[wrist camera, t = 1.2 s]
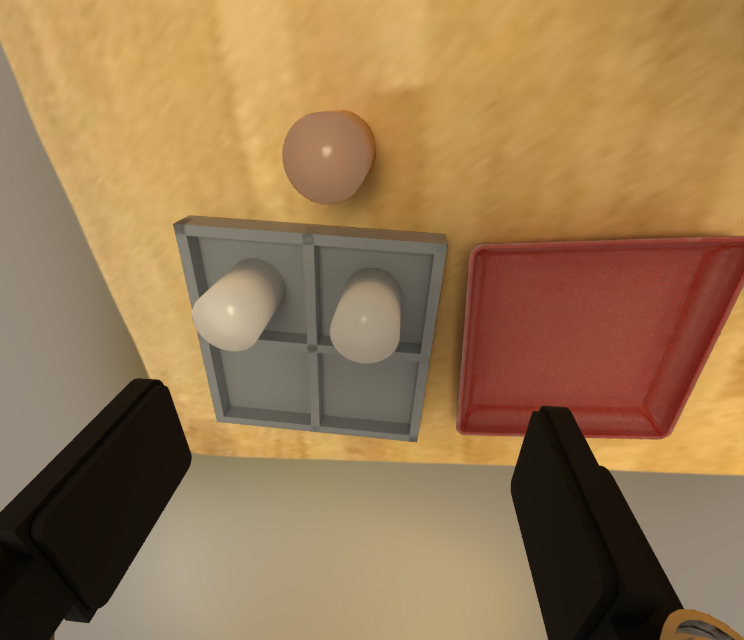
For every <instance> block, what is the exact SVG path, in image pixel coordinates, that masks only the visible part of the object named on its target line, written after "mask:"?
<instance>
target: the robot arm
mask: <svg viewBox="0 0 744 640" xmlns="http://www.w3.org/2000/svg"><path fill="white" fill-rule="evenodd" d="M191 459H192V457H191V452H190V449H189V446H188V443H187V440H186V438H185V435H184V432H183V429H182V426H181V423H180V420H179V417H178V414H177V411H176V409H175V406H174V403H173V400H172V397H171V394H170V391H169V389H168V387H167V386H164V384H163V383H162V382H161V381H160V380H155V379H140V378H137V379H134V380H133V381H131V382H130V383H129V384H128V385H127V386H126V387H125V388H124V389H123V390H122V391H121V392H120V393H119V394H118V395H117V396H116V397H115V398H114V399H113V400H112V401H111V402H110V403H109V404H108V405H107V406H106V407H105V408H104V409H103V410H102V411H101V412H100V413H99V414H98V415H97V416H96V417H95V418H94V419H93V420H92V421H91V422H90V423H89V424H88V425H87V426H86V427H85V428H84V429H83V430H82V431H81V432H80V433H79V434H78V435H77V436H76V437H75V438H74V439H73V440H72V441H71V442H70V443H69V444H68V445H67V446H66V447H65V448H64V449H63V450H62V451H61V452H60V453H59V454H58V455H57V456H56V457H55V458H54V459H53V460H52V461H51V462H50V463H49V464H48V465H47V466H46V467H45V468H44V469H43V470H42V471H41V472H40V473H39V474H38V475H37V476H36V477H35V478H34V479H33V480H32V481H31V482H30V483H29V484H28V485H27V486H26V487H25V488H24V489H23V490H22V491H21V492H20V493H19V494H18V495H17V496H16V497H15V498H14V499H13V500H12V501H11V502H10V503H9V504H8V505H7V506H6V507H5V508H4V509H3V510H2V511H1V512H0V640H54V635H55V634H54V633H55V631H56V629H57V628H58V626H59V625H60V623H61V622H62V620H63V619H65V620H66V621H75V622H83V623H90V621H91V619H92V617H93V616H94V614H95V613H96V611H97V610H98V608H101V607H103V606H104V605H105V604H106V603H107V602H108V601H109V599H110V598H111V596H112V595H113V593H114V591H115V590H116V588H117V586H118V585H119V583H120V581H121V580H122V578H123V576H124V575H125V573H126V571H127V570H128V568H129V566H130V565H131V563H132V561H133V560H134V558H135V557H136V555H137V553H138V551H139V550H140V548H141V547H142V545H143V543H144V542H145V540H146V538H147V536H148V535H149V533H150V532H151V530H152V528H153V527H154V525H155V523H156V522H157V520H158V518H159V517H160V515H161V513H162V512H163V510H164V508H165V507H166V505H167V504H168V502H169V500H170V499H171V497H172V495H173V494H174V492H175V490H176V489H177V487H178V485H179V484H180V482H181V480H182V479H183V477H184V476H185V474H186V472H187V470H188V469H189V467H190V464H191ZM511 495H512V499H513V503H514V507H515V511H516V515H517V519H518V523H519V527H520V531H521V534H522V538H523V542H524V546H525V550H526V554H527V558H528V562H529V566H530V570H531V574H532V578H533V582H534V585H535V589H536V593H537V597H538V601H539V605H540V608H541V613H542V617H543V620H544V624H545V629H546V633H547V636H548V640H744V638H743V637H742V636H740V635H739V634H738V633H737V632H735V631H734V630H733V629H732V628H730V627H729V626H728V625H727V624H725V623H723V622H721V621H719V620H718V619H716V618H714V617H712V616H710V615H709V614H706V613H702V612H699V611H696V610H693V609H692V610H691V609H690V610H689V609H688V610H687V609H684V608H683V606H682V604H681V602H680V600H679V599H678V597H677V595H676V593H675V591H674V589H673V587H672V585H671V584H670V582H669V580H668V578H667V576H666V574H665V572H664V570H663V569H662V567H661V565H660V563H659V561H658V559H657V558H656V556H655V554H654V552H653V550H652V548H651V546H650V545H649V543H648V541H647V539H646V537H645V535H644V533H643V531H642V530H641V528H640V526H639V524H638V522H637V520H636V518H635V517H634V515H633V513H632V511H631V509H630V507H629V506H628V504H627V502H626V500H625V498H624V496H623V494H622V492H621V491H620V489H619V487H618V485H617V483H616V481H615V480H614V478H613V476H612V475H611V473H610V472H609V470H608V469H606V468H605V467H603V466H599V465H598V463H597V461H596V459H595V457H594V455H593V453H592V451H591V449H590V447H589V445H588V443H587V441H586V439H585V437H584V435H583V434H582V432H581V430H580V428H579V426H578V424H577V422H576V420H575V418H574V416H573V414H572V412H571V411H570V409H569V408H567V407H557V406H541V407H540V409H539V411H533V412H532V414H531V417H530V421H529V424H528V427H527V431H526V434H525V437H524V441H523V444H522V447H521V450H520V454H519V457H518V460H517V464H516V467H515V470H514V474H513V477H512V480H511Z"/></svg>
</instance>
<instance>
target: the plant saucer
mask: <svg viewBox="0 0 744 640" xmlns="http://www.w3.org/2000/svg"><path fill="white" fill-rule="evenodd" d="M743 286H744V236H718V237H676V238H645V239H619V240H592V241H563V242H530V243H494V244H480V245H477V246H475V247H474V248H473V249H472V251H471V252H470V255H469V265H468V277H467V292H466V305H465V320H464V334H463V347H462V359H461V374H460V386H459V399H458V411H457V422H456V429H457V431H458V432H459V433H460V434H462V435H482V436H524V437H525V434H526V431H527V427H528V424H529V421H530V417H531V414H532V412H533V411H539V409H540V407H541V406H557V407H567V408H569V409H570V411H571V412H572V414H573V416H574V418H575V420H576V422H577V424H578V426H579V428H580V430H581V432H582V434H583V435H584V437H585V438H608V439H611V438H618V439H663V438H665V437H668V436H670V435H671V433H672V432H673V430H674V427H675V425H676V423H677V421H678V420H679V417H680V415H681V413H682V411H683V409H684V407H685V405H686V403H687V401H688V399H689V397H690V395H691V393H692V391H693V389H694V387H695V385H696V382H697V380H698V378H699V376H700V374H701V372H702V370H703V368H704V366H705V364H706V362H707V360H708V358H709V356H710V353H711V352H712V350H713V347H714V345H715V343H716V341H717V340H718V337H719V335H720V333H721V331H722V329H723V327H724V325H725V323H726V321H727V319H728V317H729V315H730V313H731V310H732V308H733V306H734V304H735V302H736V300H737V298H738V296H739V294H740V292H741V290H742V288H743Z"/></svg>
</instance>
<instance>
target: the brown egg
mask: <svg viewBox="0 0 744 640" xmlns="http://www.w3.org/2000/svg"><path fill="white" fill-rule="evenodd" d="M282 153H283V165H284V169H285V172H286V175H287V177H288V179H289V181H290V182H291V184H292V185H293V187H294V188H295V189H296V190H297V191H298V192H299V193H300V194H301V195H303V196H304V197H305V198H307V199H309V200H311V201H313V202H316V203H320V204H336V203H339V202H342V201H344V200H346V199H348V198H349V197H351V196H352V195H353V194H354V193H355V192H356V191H357V190H358V188H359V187H360V185H361V184H362V182H363V180H364V179H365V177H366V176H367V174H368V172H369V171H370V169H371V167H372V165H373V162H374V159H375V154H376V145H375V139H374V136H373V133H372V131H371V129H370V127H369V126H368V124H367V123H366V122H365V121H364V120H363V119H362V118H361V117H360V116H358V115H356V114H355V113H352V112H349V111H345V110H335V111H325V112H316V113H311V114H308V115H306V116H304V117H302V118H301V119H299V120H298V121H297V122H296V123H295V124H294V125H293V126H292V127H291V128H290V130H289V132H288V133H287V135H286V138H285V141H284V145H283V152H282Z"/></svg>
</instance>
